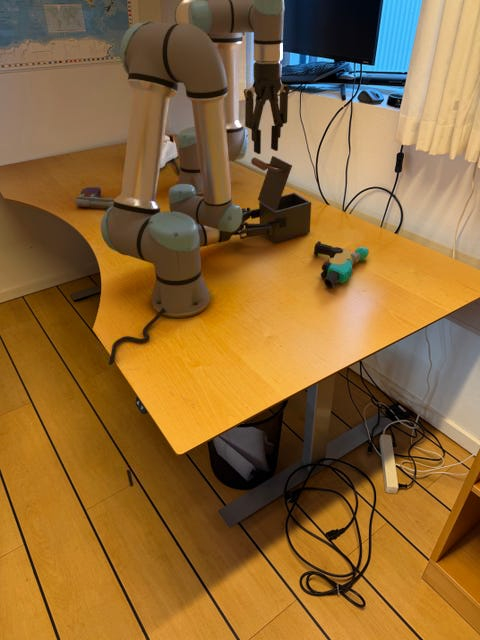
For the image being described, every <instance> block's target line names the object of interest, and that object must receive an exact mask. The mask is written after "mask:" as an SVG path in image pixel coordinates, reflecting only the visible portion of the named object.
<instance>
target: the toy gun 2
mask: <svg viewBox="0 0 480 640" xmlns="http://www.w3.org/2000/svg"><path fill="white" fill-rule="evenodd" d="M369 253H370V249H369V248H368V247H366V246H359V247H357V248H356V249H354V252H352V251H351V249H348V248H344V247H339V246H332V245H328V244H325V243H322V242H321V241H319V240H318V241H317V242H316V243H315V245H314V248H313V255H314V256H316V257H317V256H318V255H323V256H329V259H328V260H327V261H325V262H324V263H323V264H322V265H321V270H322V272H321V273H320V277H321V278H322V279H324V281H323V283H324V285H325V287H326V288H327V289H329V290H334V289H333V288H334V287H335V286H337V284H338V282H339V283H340V284H344V283H346V282H347V281H349V279H350V278H351V277H352V275H353V265H355V264H357V263H358V262H359V261H364V260H365V259H367V257H368V256H369Z"/></svg>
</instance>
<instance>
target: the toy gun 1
mask: <svg viewBox="0 0 480 640" xmlns="http://www.w3.org/2000/svg"><path fill="white" fill-rule="evenodd" d="M114 199H115V198H105V197H103V198H102V189H101V187H100V186H86V187H84V188H82V189H81V191H80V195H79V196H77V197H76V199H75V202H74V204H75V205H76V207H80V208H81V207H82V208H92V209H93V208H94V209H106V210H107V209H109V208H110V207H112V206H113V204H114Z"/></svg>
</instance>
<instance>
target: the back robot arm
mask: <svg viewBox="0 0 480 640" xmlns="http://www.w3.org/2000/svg"><path fill="white" fill-rule="evenodd" d="M284 16H285V0H180V1H179V3H178V4H177V5H176V7H175V9H174V21H175V24H182V23H185V24H191V25H194V26H196V27H198V28H200V29H201V30H202V31H204V32H205V33H206V34H207V35H208V36H209V38H210V39H211V40H212V42H213V43H214V45H215V46H216V48H217V50H218V52H219V55H220V57H221V59H222V62H223V65H224V68H225V73H226V78H227V88H228V93H227V95H226V96H225V97H224V106H225V119H226V132H227V144H228V157H229V162H231V161H232V162H235V161H240V160H243V159H244V158H245V157H246V155H247V153H248V149H249V133H248V132H249V131H248V129H250V130H251V141H252V142H253V152H254V153H255V154H257V155H261V154H262V130H261V129H260V124H261V120H262V115H263V112H264V107H265V105H266V102H267V101H268V102H269V104H270V110H271V116H272V120H273V125H271V131H270V132H271V134H270V150H273V151H275V152H278V151H279V139H280V138H281V134H282V133H281V132H282V128H283V127H284V124H285V125H286V124H287V123H288V111H289V109H288V108H289V93H290V90H291V86H290V85H288V84H284V83H282V80H281V78H282V74H283V73H282V71H283V70H282V69H283V65H282V62H281V61H282V60H283V40H284V39H283V38H284V19H285V17H284ZM248 33H253V60H254V61H255V62H254V63H253V69H252V71H253V74H252V75H253V83H252V86H251V87H250V88H248V89H247V88H245V89H243V95H244V99H245V102H244V103H245V105H244V107H245V108H244V114H245V115H244V123H243V121H241V119H240V89H239V88H240V74H239V73H240V72H239V71H240V70H239V69H240V67H239V66H240V65H239V63H240V62H239V48H240V46H241V44H243V41H244V39H243V38H244V36H246V35H247V34H248ZM278 94H279V96H278ZM255 95H256V96H255ZM254 97H255V100H254ZM254 101H255V105H254ZM247 128H248V129H247ZM177 148H178V149H177V150H178V160H179V161H178V162H179V165H178V163H177V162H176V160H175V158H173V159H172V160H171V161H173V164H174V165H175V167H176V169H177V172H178V180H177V184H176V185H178V184H189V185H192V186H193V187H194V188H195V192H196V196H200V197H204V196H203V188H202V180H201V172H200V164H199V156H198V148H197V140H196V132H195V126H190V127H187V128H185V129H182V130H181V131H180V132H179V133H178V134H177Z"/></svg>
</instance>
